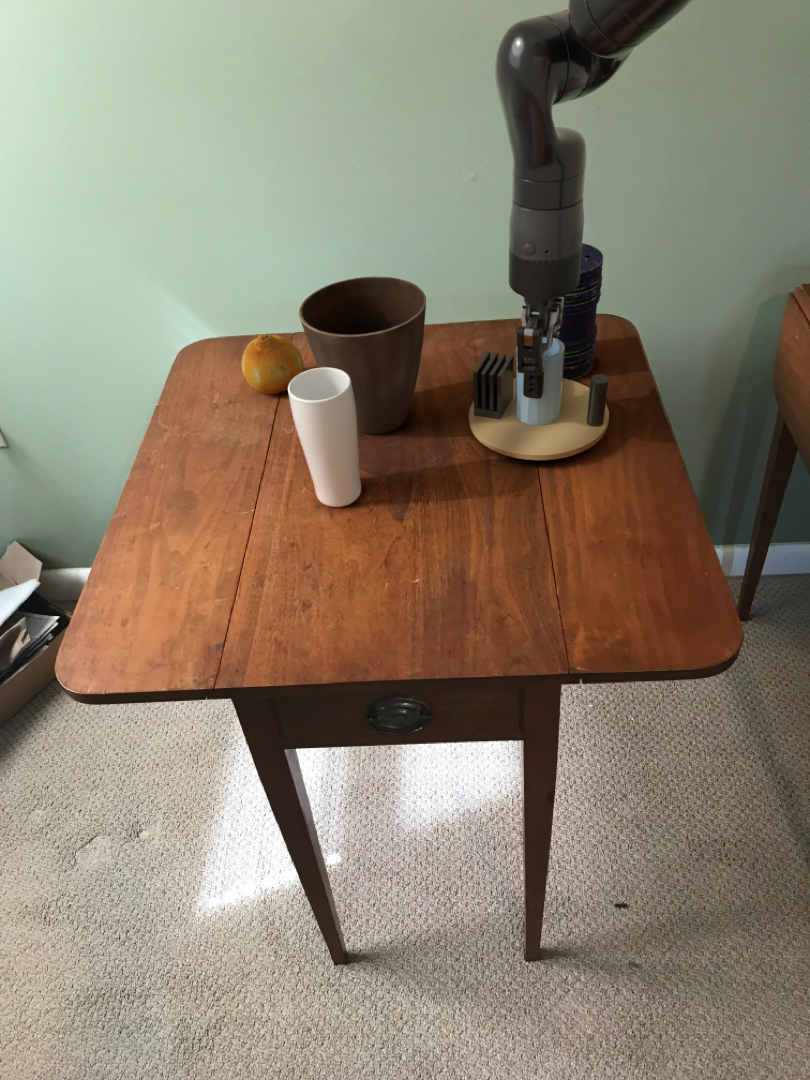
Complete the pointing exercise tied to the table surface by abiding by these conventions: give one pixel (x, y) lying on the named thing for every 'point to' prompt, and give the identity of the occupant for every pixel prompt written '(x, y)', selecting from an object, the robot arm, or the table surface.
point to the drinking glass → (328, 432)
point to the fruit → (271, 363)
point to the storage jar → (582, 316)
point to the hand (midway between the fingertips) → (539, 381)
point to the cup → (550, 401)
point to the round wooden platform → (514, 438)
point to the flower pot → (370, 343)
